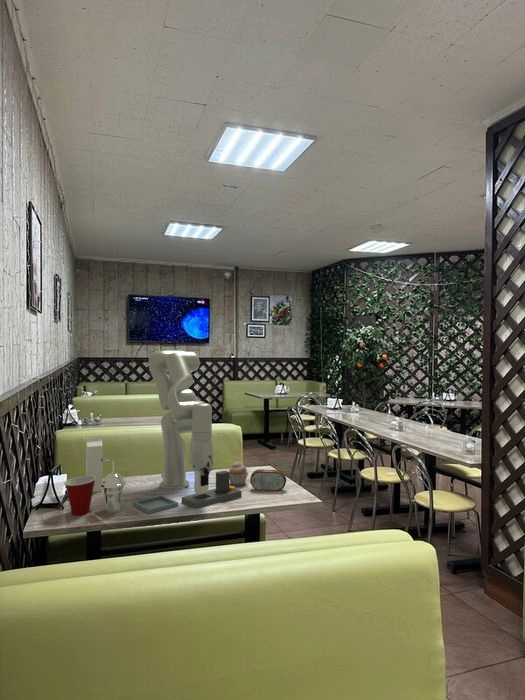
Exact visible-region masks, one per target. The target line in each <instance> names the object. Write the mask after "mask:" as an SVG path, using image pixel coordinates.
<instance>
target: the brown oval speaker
mask: <svg viewBox="0 0 525 700" xmlns="http://www.w3.org/2000/svg"><path fill="white" fill-rule="evenodd" d="M249 481H250V482H249V483H250V485H251V487H252V488H254V489H255V490H257V491H263V490H264V491H267V492H269V491H270V492H280V491H281V490H283V489H284V488H285V487H286V485H287V484H286V483H287V476H286V474H285V473H284V472H283V471H281V470H279V469H264V468H263V469H261V468H259V469H255V470H254V471H253V472H251V475H250V479H249Z"/></svg>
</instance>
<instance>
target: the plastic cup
mask: <svg viewBox="0 0 525 700" xmlns="http://www.w3.org/2000/svg"><path fill="white" fill-rule="evenodd" d="M95 479H96V477H94V476H86V475H85V476H78V477H73V478H69V479H67V480H65V481H63V485H64V486H65V488H66V492H67V497H68V502H69V507H70V512H71V514H72V515H74V516H83V515H86V514H89V512H90V509H91V503H92V498H93V493H94V492H93V487H94V482H95Z"/></svg>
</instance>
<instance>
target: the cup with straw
mask: <svg viewBox="0 0 525 700" xmlns="http://www.w3.org/2000/svg"><path fill="white" fill-rule="evenodd" d="M101 461H103V462H107V461H109V462H110V461H112V462H111V464H112V465H111V467H112V468H111V469H112V470H111V473H108V474H107V475H106V476H105V477H104V478H103V481H102V483H101V487H102V492H103V493H104V502H105V510H106V512H108V513H117V512H119V511H120V508H121V504H122V503H121V502H122V496H123V495H122V493H123V489H124V486H125V485H127V484H126V481H125V479H124V478H123V476H122V475H121V473H118V472H115V459H114V458H103V459H101Z"/></svg>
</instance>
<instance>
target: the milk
mask: <svg viewBox="0 0 525 700" xmlns="http://www.w3.org/2000/svg"><path fill="white" fill-rule="evenodd" d="M103 446H104V445H103V438H102V436H92V437H91V436H90V437H86V442H85V476H94V477H96V479H95V482H94V487H93V493H99V492H103V487H101V483H102V482H103V481H104V478H103V472H104V470H103V466H104V465H103V464H104V463H103V462H104V461H101V459H104V458H103V454H104V453H103V452H104V451H103V450H104V449H103V448H104V447H103Z"/></svg>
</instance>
